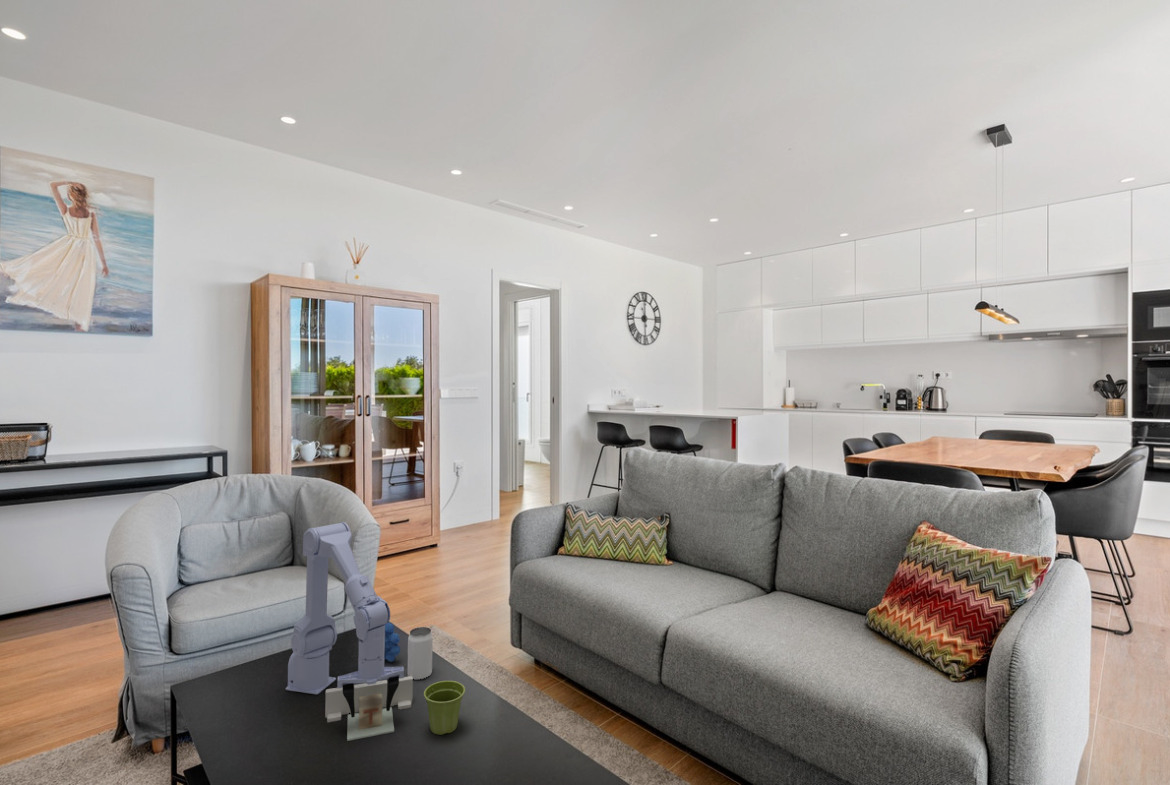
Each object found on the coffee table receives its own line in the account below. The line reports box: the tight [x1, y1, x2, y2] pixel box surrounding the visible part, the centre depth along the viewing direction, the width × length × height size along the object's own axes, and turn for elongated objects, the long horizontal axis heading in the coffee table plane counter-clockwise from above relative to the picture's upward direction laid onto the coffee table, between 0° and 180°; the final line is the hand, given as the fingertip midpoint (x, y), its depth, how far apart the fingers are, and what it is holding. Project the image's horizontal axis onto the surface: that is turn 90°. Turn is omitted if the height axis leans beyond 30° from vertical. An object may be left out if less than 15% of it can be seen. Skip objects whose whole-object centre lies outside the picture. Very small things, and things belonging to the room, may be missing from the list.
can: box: [407, 626, 434, 681], centre depth 160 cm, size 6×6×12 cm
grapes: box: [384, 622, 401, 663], centre depth 167 cm, size 12×7×12 cm, turn 64°
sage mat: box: [346, 706, 395, 742], centre depth 137 cm, size 10×10×1 cm
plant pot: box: [423, 680, 466, 735], centre depth 136 cm, size 9×9×9 cm
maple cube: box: [358, 694, 383, 730], centre depth 137 cm, size 5×5×5 cm
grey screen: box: [324, 675, 414, 723], centre depth 144 cm, size 20×6×6 cm, turn 111°
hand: (370, 711), depth 137 cm, fingers open, 7 cm apart
